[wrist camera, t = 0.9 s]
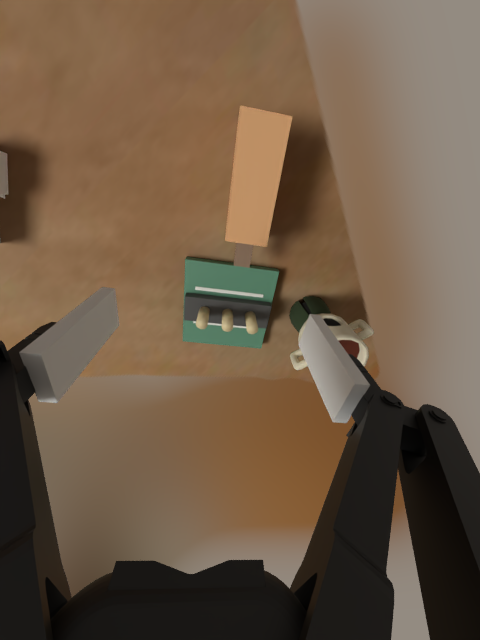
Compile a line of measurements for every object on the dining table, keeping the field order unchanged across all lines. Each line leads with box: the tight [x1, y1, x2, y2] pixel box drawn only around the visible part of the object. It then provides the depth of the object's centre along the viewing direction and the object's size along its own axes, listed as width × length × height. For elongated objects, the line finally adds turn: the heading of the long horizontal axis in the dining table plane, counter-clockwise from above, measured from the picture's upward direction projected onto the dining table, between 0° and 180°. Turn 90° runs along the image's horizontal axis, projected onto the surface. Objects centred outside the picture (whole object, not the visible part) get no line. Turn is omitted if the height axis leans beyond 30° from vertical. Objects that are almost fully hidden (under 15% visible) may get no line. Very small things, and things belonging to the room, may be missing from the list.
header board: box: [183, 257, 279, 348], centre depth 34 cm, size 14×14×7 cm
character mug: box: [289, 296, 374, 370], centre depth 33 cm, size 11×7×13 cm, turn 122°
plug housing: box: [225, 105, 293, 268], centre depth 27 cm, size 5×15×7 cm, turn 172°
